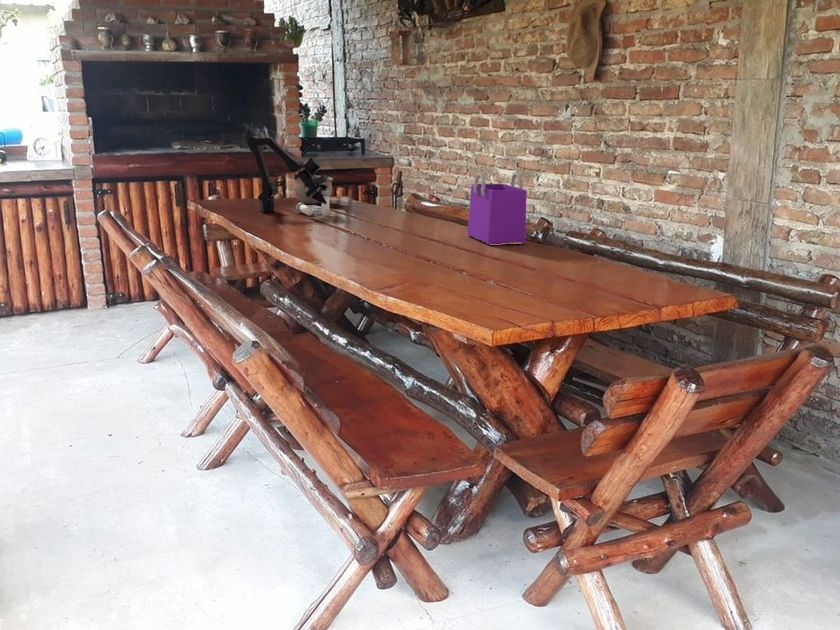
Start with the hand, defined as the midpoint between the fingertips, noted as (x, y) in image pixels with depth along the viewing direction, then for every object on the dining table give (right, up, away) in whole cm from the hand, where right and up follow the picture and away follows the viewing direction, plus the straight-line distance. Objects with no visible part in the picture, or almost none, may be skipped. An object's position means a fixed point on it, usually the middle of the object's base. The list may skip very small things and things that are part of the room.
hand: (328, 203), depth 423 cm
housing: (-9, -3, +13) cm, 16 cm away
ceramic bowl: (-13, +6, +46) cm, 49 cm away
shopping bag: (+81, -25, -58) cm, 102 cm away
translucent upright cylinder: (-2, -6, +2) cm, 7 cm away
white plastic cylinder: (-15, -3, +3) cm, 15 cm away
